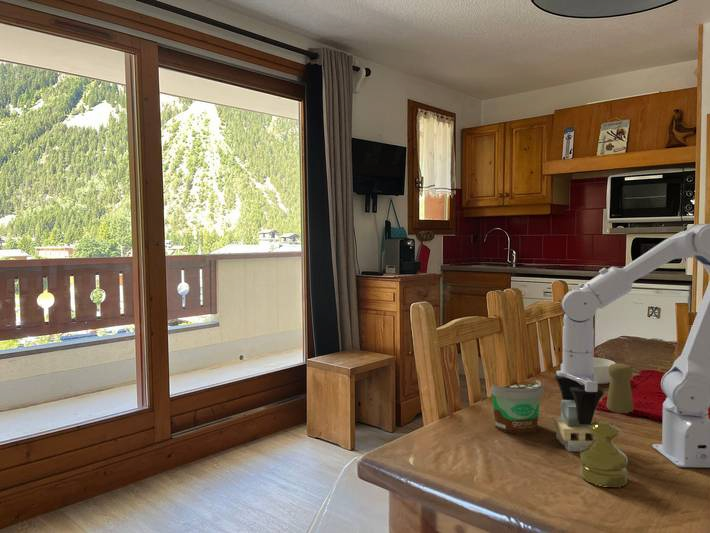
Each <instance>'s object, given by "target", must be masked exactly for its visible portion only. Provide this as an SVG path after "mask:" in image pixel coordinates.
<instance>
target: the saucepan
mask: <svg viewBox="0 0 710 533" xmlns="http://www.w3.org/2000/svg"><path fill="white" fill-rule="evenodd" d="M611 364H617V362H616V361H613V360H611V359H607V358H601V357H594V367H593V372H594V373H595V380H596V381H597V382H598V385H606V384H610V379H611V377H610V375H609V372H608V369H609V366H610V365H611Z"/></svg>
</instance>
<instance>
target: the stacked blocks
mask: <svg viewBox="0 0 710 533" xmlns="http://www.w3.org/2000/svg"><path fill="white" fill-rule="evenodd" d="M551 418H552V419H551V420H552V428H553V430H554V431H555V432H557V433H558V434H559V435H560V436H561V438H562V439H563V440H564V441H571V433H572V434H573V435H574V436H575V437H576V438H577V439H578V440H579V441H585V433H586V434H587V435H588V436H589V437H590V438H591V439H592V440H593V441H594V440H595V436H594V435H593V434H592V433H591V432H590V431H589V430H588V425H590V424H579V422H578V418H577V410H576V404H575V400H563V399H561V400H560V416H552V417H551ZM592 423H594V422H593V421H592V422H591V424H592Z"/></svg>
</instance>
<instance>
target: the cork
mask: <svg viewBox="0 0 710 533" xmlns="http://www.w3.org/2000/svg"><path fill="white" fill-rule="evenodd" d="M608 372H609V375H610V377H611V379H610V382H609V386H608V393H607V400H606V405H605V407H606V406H607V408H608V409H609V410H608V409H607V410H608V411H610V410H611V411H610V412H613V413H617V414H630V413H629V412H632V411H633V410H634V411H635V409H634V400H633V394H632V393H633V392H632V386H631V378H632V376H633V368H632V367H631V366H630V365H629V364H625V363H620V362H619V363H617V362H616V364H611V365H610V366H609V369H608ZM632 413H633V412H632Z"/></svg>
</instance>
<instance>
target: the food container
mask: <svg viewBox="0 0 710 533" xmlns="http://www.w3.org/2000/svg"><path fill="white" fill-rule="evenodd" d="M544 393H545V392H544V389H543V385H542V383H541V381H540V380H538V379H535V383H529V384H527V383H526V384H523V383H522V384H521V383H515V384H514V383H513V384H510V385H506V386H499V385H495V384H492V383H491V386H490V388H489V394H490V395H492V404H493V405H492V406H493V414H494V425H495V427H494V428H495V429H496V428H497V429H496V430H498V429H499V430H498V431H500V430H502V431H501V432H503V431H505V432H504V433H506V432H510V433H509V434H511V433H516V434H515V435H529V434H528V433H530V434H533V433H535V432H536V431H537V429H538V422H539V412H540V402H541V397H543V395H544ZM532 432H533V433H532Z"/></svg>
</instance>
